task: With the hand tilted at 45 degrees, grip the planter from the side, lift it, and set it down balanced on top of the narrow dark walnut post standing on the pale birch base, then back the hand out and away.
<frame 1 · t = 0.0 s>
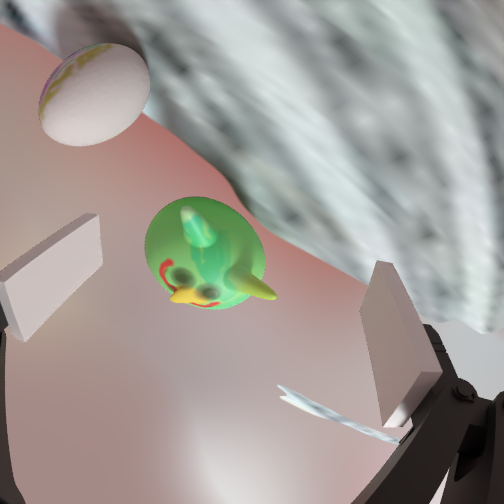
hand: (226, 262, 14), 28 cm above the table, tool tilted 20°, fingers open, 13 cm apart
decorative egg: (122, 78, 34), on the table
toy bird: (219, 221, 50), on the table
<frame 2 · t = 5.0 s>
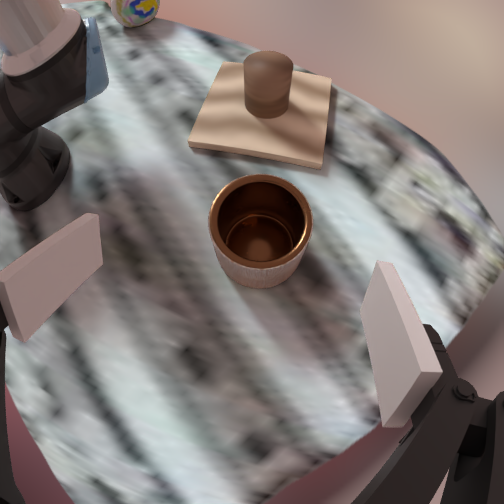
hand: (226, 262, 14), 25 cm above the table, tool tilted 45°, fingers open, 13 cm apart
balance post: (266, 109, 48), on the table
decorative egg: (140, 20, 60), on the table
planter: (259, 248, 41), on the table
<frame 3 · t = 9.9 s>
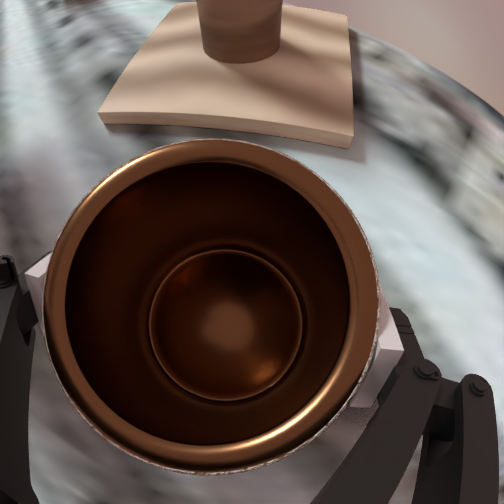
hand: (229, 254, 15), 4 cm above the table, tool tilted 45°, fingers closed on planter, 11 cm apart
balance post: (241, 55, 25), on the table
planter: (225, 325, 18), on the table, touching gripper
when the fingers open (15 cm above the table, at t = 16.4 s): planter stays where it is, resting on balance post.
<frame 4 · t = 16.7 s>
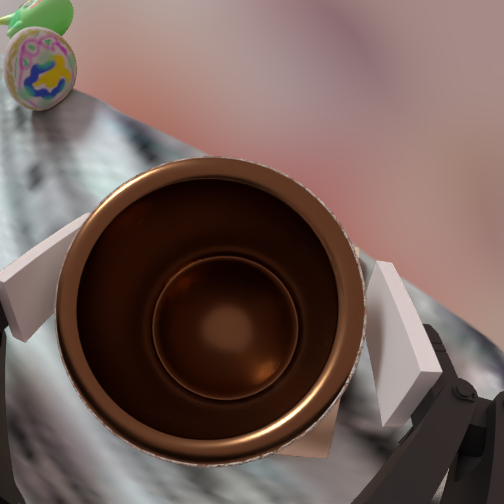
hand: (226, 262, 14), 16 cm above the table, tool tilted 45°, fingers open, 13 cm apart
balance post: (236, 337, 28), on the table
decorative egg: (54, 94, 40), on the table
planter: (225, 328, 19), point 10 cm above the table, touching balance post
toy bird: (48, 43, 48), on the table
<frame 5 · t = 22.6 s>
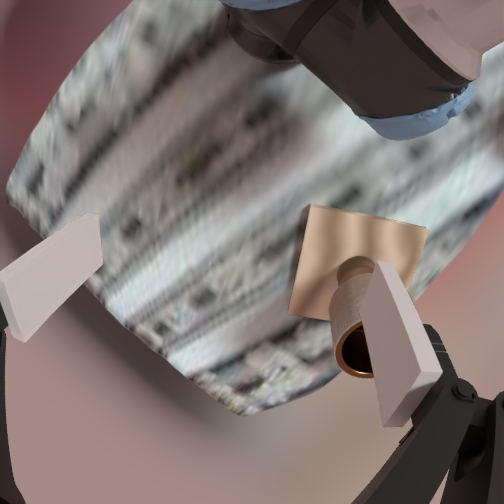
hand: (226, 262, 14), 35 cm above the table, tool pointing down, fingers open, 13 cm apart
balance post: (356, 270, 51), on the table
planter: (365, 303, 42), point 10 cm above the table, touching balance post
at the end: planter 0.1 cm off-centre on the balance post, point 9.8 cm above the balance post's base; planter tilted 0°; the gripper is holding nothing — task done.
